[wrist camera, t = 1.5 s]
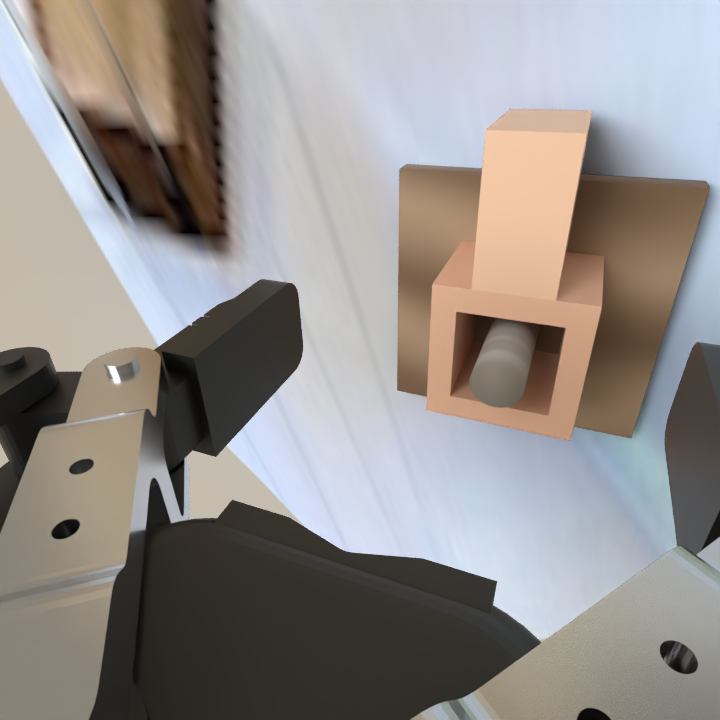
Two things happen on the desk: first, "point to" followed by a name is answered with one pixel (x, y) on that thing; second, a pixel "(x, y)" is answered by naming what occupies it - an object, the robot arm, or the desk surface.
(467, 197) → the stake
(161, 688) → the robot arm
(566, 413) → the orange block with hole
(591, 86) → the desk surface
